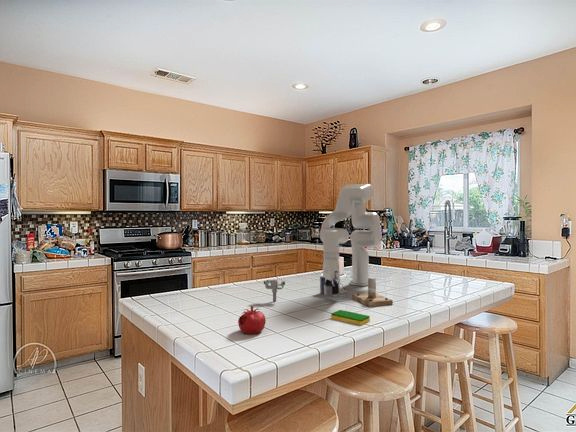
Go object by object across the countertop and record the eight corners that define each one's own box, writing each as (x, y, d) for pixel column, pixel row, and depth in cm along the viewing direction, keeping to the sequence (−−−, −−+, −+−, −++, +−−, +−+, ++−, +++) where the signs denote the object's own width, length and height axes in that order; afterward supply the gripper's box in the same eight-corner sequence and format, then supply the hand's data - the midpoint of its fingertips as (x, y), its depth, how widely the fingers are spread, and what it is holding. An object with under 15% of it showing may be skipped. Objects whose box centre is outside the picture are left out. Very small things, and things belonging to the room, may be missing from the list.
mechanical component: (284, 302, 169) (284, 281, 169) (263, 301, 171) (263, 281, 171) (285, 301, 172) (285, 280, 172) (265, 300, 174) (264, 279, 174)
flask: (319, 293, 187) (319, 273, 187) (321, 292, 190) (321, 272, 190) (336, 295, 183) (336, 274, 183) (338, 294, 186) (338, 273, 186)
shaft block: (352, 298, 176) (352, 276, 176) (374, 296, 180) (374, 274, 180) (369, 306, 161) (369, 282, 161) (392, 304, 165) (392, 280, 165)
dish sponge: (340, 315, 150) (340, 309, 150) (370, 321, 141) (370, 315, 141) (330, 319, 145) (330, 313, 144) (361, 326, 135) (361, 320, 135)
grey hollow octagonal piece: (322, 293, 175) (322, 284, 175) (335, 291, 177) (335, 282, 177) (328, 296, 168) (328, 287, 168) (341, 295, 170) (341, 286, 170)
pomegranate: (265, 327, 135) (266, 302, 135) (265, 336, 125) (265, 309, 125) (239, 327, 134) (239, 302, 134) (236, 335, 124) (236, 309, 124)
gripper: (317, 253, 179) (317, 288, 180) (331, 258, 162) (332, 297, 163) (330, 252, 181) (331, 287, 182) (346, 257, 165) (347, 295, 165)
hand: (331, 291), depth 173 cm, fingers closed on grey hollow octagonal piece, 7 cm apart
